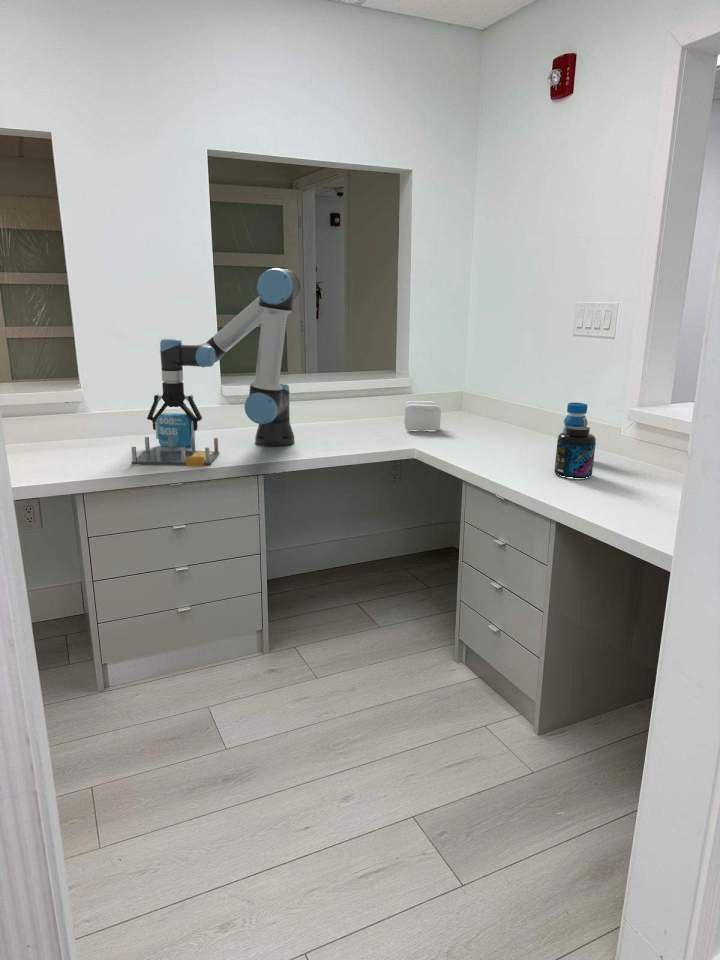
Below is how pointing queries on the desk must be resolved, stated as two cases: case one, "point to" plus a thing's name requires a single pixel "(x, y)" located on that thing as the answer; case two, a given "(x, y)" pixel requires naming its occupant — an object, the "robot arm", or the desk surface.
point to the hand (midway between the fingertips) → (175, 438)
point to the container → (575, 452)
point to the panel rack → (175, 455)
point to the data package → (174, 429)
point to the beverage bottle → (575, 415)
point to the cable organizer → (422, 415)
